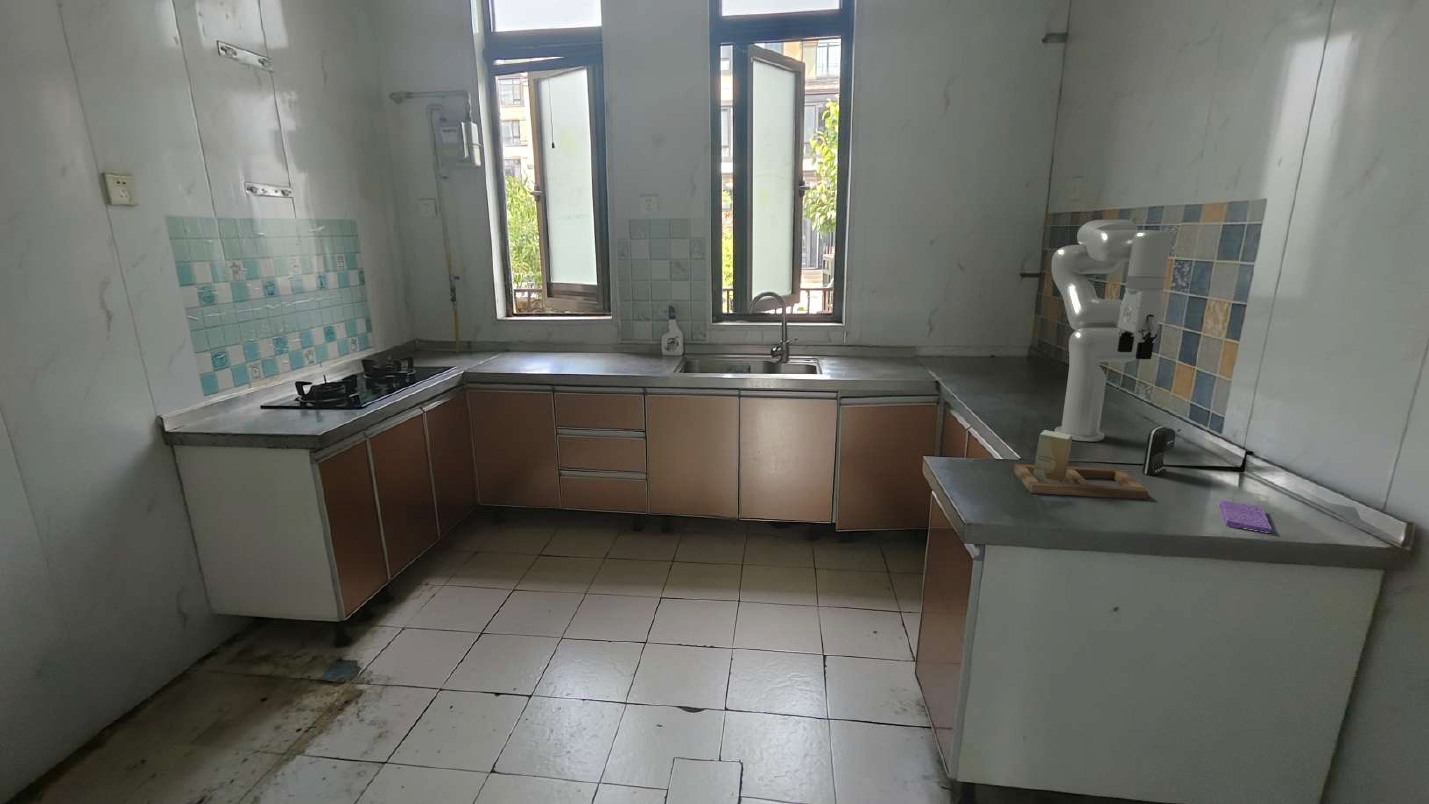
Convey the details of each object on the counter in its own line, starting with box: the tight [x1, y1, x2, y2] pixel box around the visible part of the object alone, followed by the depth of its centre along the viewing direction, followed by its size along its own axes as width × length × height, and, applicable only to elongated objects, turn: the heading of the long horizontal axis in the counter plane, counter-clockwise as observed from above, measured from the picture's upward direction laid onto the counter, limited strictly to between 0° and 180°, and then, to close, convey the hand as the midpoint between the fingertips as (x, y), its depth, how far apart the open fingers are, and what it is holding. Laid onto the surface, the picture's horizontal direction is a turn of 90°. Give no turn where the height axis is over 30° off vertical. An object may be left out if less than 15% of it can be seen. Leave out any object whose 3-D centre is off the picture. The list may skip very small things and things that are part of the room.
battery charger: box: [1142, 426, 1176, 476], centre depth 154 cm, size 7×4×11 cm, turn 124°
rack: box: [1013, 463, 1149, 500], centre depth 148 cm, size 14×24×2 cm, turn 80°
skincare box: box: [1033, 429, 1073, 483], centre depth 148 cm, size 6×4×12 cm
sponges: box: [1219, 499, 1272, 534], centre depth 129 cm, size 7×13×2 cm, turn 147°
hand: (1133, 355), depth 154 cm, fingers open, 9 cm apart
